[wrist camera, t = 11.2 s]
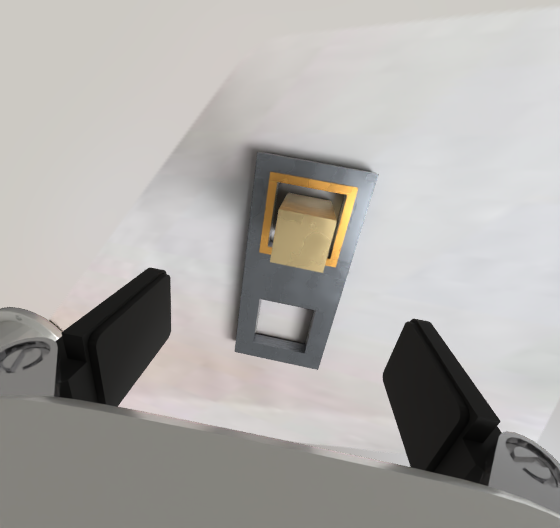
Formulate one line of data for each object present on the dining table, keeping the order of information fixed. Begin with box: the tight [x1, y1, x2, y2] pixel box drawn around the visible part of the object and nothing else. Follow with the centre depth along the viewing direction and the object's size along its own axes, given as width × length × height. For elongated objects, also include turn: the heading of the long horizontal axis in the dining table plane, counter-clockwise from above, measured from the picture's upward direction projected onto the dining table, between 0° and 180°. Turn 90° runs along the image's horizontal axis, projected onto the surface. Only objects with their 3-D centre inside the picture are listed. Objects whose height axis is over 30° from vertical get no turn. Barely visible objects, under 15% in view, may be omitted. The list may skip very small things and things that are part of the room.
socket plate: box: [235, 152, 378, 370], centre depth 26 cm, size 22×10×2 cm, turn 171°
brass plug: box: [270, 193, 337, 273], centre depth 22 cm, size 4×4×7 cm
